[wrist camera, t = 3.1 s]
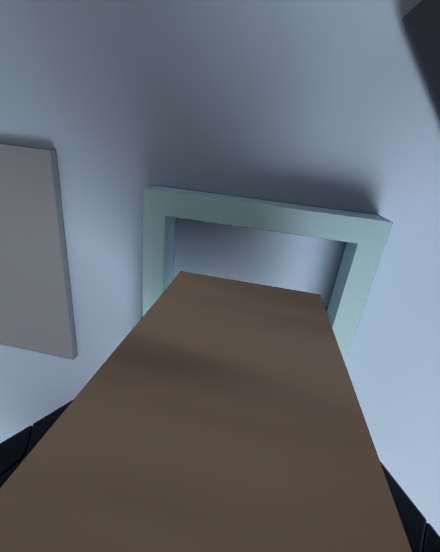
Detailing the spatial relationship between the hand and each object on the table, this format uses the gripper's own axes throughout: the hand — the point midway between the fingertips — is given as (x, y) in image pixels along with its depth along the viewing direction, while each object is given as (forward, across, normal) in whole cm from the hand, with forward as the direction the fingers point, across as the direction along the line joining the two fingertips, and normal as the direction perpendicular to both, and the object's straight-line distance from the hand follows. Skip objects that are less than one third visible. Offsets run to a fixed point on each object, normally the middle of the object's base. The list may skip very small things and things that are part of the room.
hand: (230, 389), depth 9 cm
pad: (+6, +16, 0) cm, 17 cm away
